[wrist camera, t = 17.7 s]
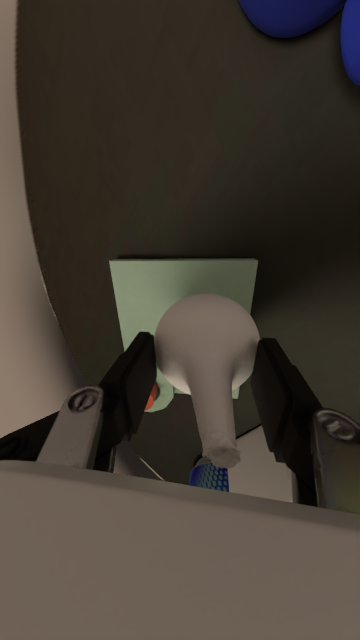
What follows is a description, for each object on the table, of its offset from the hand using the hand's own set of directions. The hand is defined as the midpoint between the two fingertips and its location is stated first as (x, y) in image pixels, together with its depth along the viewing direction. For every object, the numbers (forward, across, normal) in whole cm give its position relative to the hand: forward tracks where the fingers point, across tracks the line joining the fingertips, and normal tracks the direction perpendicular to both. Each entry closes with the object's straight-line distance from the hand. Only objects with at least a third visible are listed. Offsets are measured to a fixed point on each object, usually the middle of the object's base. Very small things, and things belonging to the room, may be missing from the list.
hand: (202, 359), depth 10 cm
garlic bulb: (+3, 0, 0) cm, 3 cm away
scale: (+7, +2, +2) cm, 7 cm away
